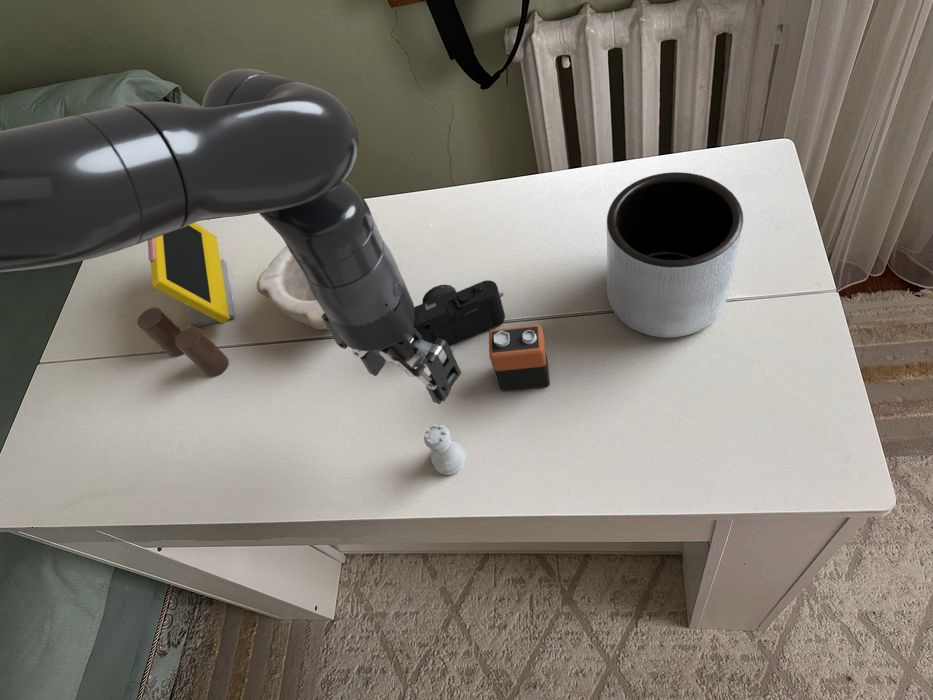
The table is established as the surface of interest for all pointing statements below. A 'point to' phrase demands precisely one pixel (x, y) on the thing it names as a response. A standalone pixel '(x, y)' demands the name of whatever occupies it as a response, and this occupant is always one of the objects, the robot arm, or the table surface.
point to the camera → (458, 312)
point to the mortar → (290, 290)
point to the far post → (160, 330)
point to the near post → (202, 351)
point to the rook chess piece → (444, 450)
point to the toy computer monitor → (192, 273)
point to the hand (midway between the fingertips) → (409, 382)
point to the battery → (519, 357)
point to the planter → (671, 252)
